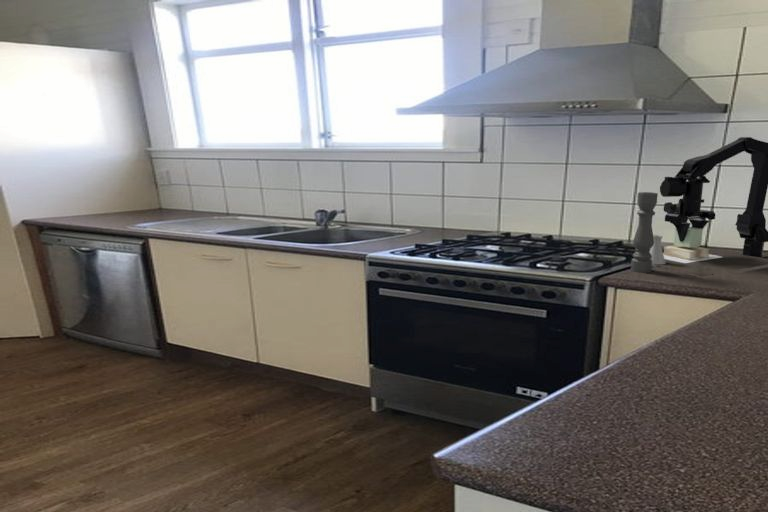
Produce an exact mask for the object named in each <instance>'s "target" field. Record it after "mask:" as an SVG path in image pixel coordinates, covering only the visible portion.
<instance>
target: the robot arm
mask: <svg viewBox="0 0 768 512" xmlns="http://www.w3.org/2000/svg"><path fill="white" fill-rule="evenodd" d="M744 152H745V153H747V154H748V155H750V161H751V164H752V167H753V171H752V172H753V173H752V177H751V182H750V188H749V191H748V197H747V202H746V208H745V210H744V211H743V213H741V214H740V213H738V214H737V217H736V223H735V224H734V225H735V226H736V230H737V232H738V235H739V238H741V239H743V240H744V242H743V248H742V254H741V255H743V256H748V257H756V258H761V259H763V258H767V257H768V255H764V249H765V248H764V247H765V243H768V229H767V228H766V226H767V225H766V224H767V223H766V222H767V221H766V217H765V215H764V206H765V202H766V198H767V193H768V142H767V141H763V140H758V139H756V138H754V137H750V136H744V137H743V136H740V137H737V139H736V140H734V141H732V142H729V143H728V144H726V145H724V146H721V147H719V148H718V149H716V150H714V151H712V152H710V153H706V154H704V155H699V156H696V157H691V158H688V159H686V160H685V161H684V162H683V165H682V167H681V169H680V170H678V172H677V174H676V175H675V176H673V177H672V176H664V179H663V181H662V182H661V183H660V185H659V192H660V196H661V197H664V198H668V197H669V198H671V197H678V198H679V197H682V198H679V199H678V203H672V202H671V201H669V202H665V203H664V204H663V211H664V213H666V214H665V215H664V222H668V223H670V224H672V225H673V226H674V227H675V228H676V229H677V233H678V236H679V240H680V242H683V241H684V239H685V237H686V234H687V231H688V229H689V227H694V228H701V229H703V230H704V228H705V227H706V225H708V224H709V222H710V221H712V220H716V213H715V211H714V210H709V209H707V210H706V209H701V207H702V203H705V199H704V198H703V199H702V197H703V191H704V189H703V188H704V184H709V183H711V180H709V178H707V177H706V175H707V174H708V173H711V171H713V169H714V168H715V167H716V166H718V164H720V163H723V162H725V161H727V160H729V159H731V158H733V157H735V156H737V155H739V154H741V153H744ZM707 219H708V220H707ZM688 221H689V222H688Z"/></svg>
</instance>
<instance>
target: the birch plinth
mask: <svg viewBox="0 0 768 512" xmlns="http://www.w3.org/2000/svg"><path fill="white" fill-rule="evenodd" d="M710 250H711V249H710V248H707V247H702V246H696V247H690V248H689V247H684V246H678V245H674V244H673V245H667V246H666V245H665V246H664V247H663V253H664V255H666V256H671V257H675V258H680V259H685V260H696V259H702V258H708V257H709V254H710Z"/></svg>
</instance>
